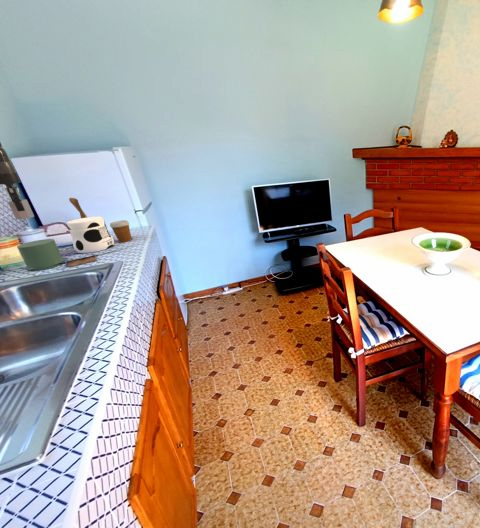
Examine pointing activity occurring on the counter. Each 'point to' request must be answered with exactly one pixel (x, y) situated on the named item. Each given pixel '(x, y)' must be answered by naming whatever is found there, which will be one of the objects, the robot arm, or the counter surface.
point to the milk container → (90, 235)
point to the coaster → (81, 261)
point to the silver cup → (21, 214)
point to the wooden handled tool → (77, 207)
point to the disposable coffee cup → (121, 230)
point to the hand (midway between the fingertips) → (21, 210)
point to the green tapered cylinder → (40, 254)
